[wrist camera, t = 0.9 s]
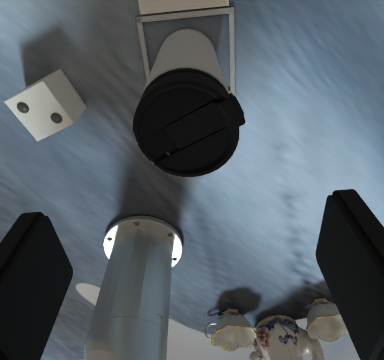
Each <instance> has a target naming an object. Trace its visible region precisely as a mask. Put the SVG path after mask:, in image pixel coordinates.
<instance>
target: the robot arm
mask: <svg viewBox="0 0 384 360" xmlns="http://www.w3.org/2000/svg"><path fill="white" fill-rule="evenodd" d="M103 244H104V251H105V253H106V255H107V257H108V258H109V261H108V264H107V268H106V271H105V275H104V278H103V282H102V285H101V289H100V292H99V296H98V299H97V303H96V306H95V310H94V313H93V317H92V320H91V324H90V327H89V331H88V334H87V338H86V341H85V346H84V360H166V352H167V336H168V319H169V303H170V287H171V271H172V267H173V266H174V265H175V264H176V263H177V262H178V261H179V259H180V257H181V255H182V248H183V245H182V239H181V237H180V235H179V233H178V232H177V230H176V229H175V228H174V227H172V226H171V225H170V224H168V223H167V222H165V221H163V220H161V219H158V218H154V217H151V216H131V217H126V218H124V219H121V220H119V221H117V222H116V223H114V224H113V225H112V226H111V227H110V228H109V229H108V231H107V233H106V235H105V238H104V243H103ZM316 259H317V263H318V265H319V267H320V270H321V272H322V274H323V276H324V279H325V281H326V283H327V285H328V288H329V290H330V292H331V294H332V297H333V299H334V301H335V304H336V306H337V308H338V310H339V313H340V315H341V317H342V319H343V322H344V324H345V326H346V328H347V331H348V333H349V335H350V337H351V340H352V342H353V344H354V346H355V349H356V351H357V353H358V356H359V358H360V359H361V360H384V227H383V226H382V224H381V223H380V222H379V220H378V219H377V218H376V217H375V215H374V214H373V213H372V211H371V210H370V209H369V207H368V206H367V205H366V204H365V202H364V201H363V200H362V198H361V197H360V196H359V194H358V193H357V192H356V191H355V190H353V189H348V190H336V191H334V192H333V194H332V195H329V196H328V197H327V200H326V205H325V210H324V215H323V220H322V225H321V230H320V234H319V239H318V244H317V249H316ZM72 276H73V269H72V266H71V264H70V262H69V260H68V257H67V255H66V253H65V251H64V249H63V247H62V245H61V242H60V240H59V238H58V236H57V234H56V232H55V230H54V227H53V225H52V223H51V221H50V219H49V217H48V216H44V214H43V213H42V212H31V213H23V214H21V215H20V216H19V217H18V219H17V220H16V222H15V223H14V224H13V226H12V227H11V229H10V230H9V231H8V233H7V234H6V236H5V237H4V239H3V240H2V241H1V243H0V360H40V359H41V356H42V354H43V351H44V348H45V346H46V343H47V341H48V338H49V336H50V333H51V331H52V328H53V325H54V323H55V320H56V318H57V315H58V313H59V310H60V307H61V305H62V302H63V300H64V297H65V295H66V292H67V290H68V287H69V284H70V282H71V279H72Z"/></svg>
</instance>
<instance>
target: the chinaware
mask: <svg viewBox="0 0 384 360" xmlns="http://www.w3.org/2000/svg"><path fill="white" fill-rule="evenodd" d="M311 305H312V307H311V309H310V310H309V312H308V316H307V327H306V329H307V331H306V330H304V329H302V328H300V327H298V325H297V324H296V321H295V320H294V319H293V318H291V317H289V316H285V315H273V316H269V317H266V318H264V319H262V320H260V321H259V322H258V323H257V325H256V331H255V330H253V329H252V327H251V325H250V323H249V321H248V320H247V319H246V318H245V317H244V316H243V315H241V314H239V312H238V311H237V310H238V309H236V310H235V309H229V308H228V310H226V311H225V312H222V313H223V314H224V315H222V316H221V317H220V318H217V323H210V324H208V325H207V326H206V328H205V335H206V337H207V338H208V339H210V340H211V343H212V344H213V345H215V346H219V345H220V347H221V348H223V349H224V350H226V351H234V350H236V349H238V348H239V346H240V347H241V348H248V347H251V346H252V345H253V347H254V348H255V350H256V351H257V352H258V353H259V354H260V355H261V356H262V357H261V356H260V355H259V354H258V353H257V352H255V351H254V352H252V353H251V354H250V357H249V358H250V360H257V359H258V358H260V359H259V360H302V356H303V355H304V354H307V353H308V354H310V355H311V357H312V359H313V360H324V354H323V350H322V348H321V345H320V343H319V341H318V339H319V338H320V339H322V340H324V341H330V342H332V341H334V340H337V339H338V338H339V337H340V336H341V334H342V335H348V334H349V333H348V331H347V328H346V326H345V324H344V322H343V319H342V317H341V315H340V313H339V310H338V308H337V306H336V304H333V303H331V302H330V301H328V300H326V299H325V298H322V299H317V300H316V299H315V301H314V302H313V303H312V304H311ZM210 325H216V326H215V331H214V333H213V335H212V338H209V337H208V336H207V334H206V330H207V328H208V327H209V326H210Z"/></svg>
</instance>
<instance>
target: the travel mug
mask: <svg viewBox="0 0 384 360" xmlns="http://www.w3.org/2000/svg"><path fill="white" fill-rule="evenodd" d="M244 123H245V119H244V112H243V110H242V108H241V106H240V104H239V102H238V100H237V99H236V97H235V96H234V95H233V94H232V93H229V90H228V87H227V84H226V81H225V78H224V75H223V72H222V69H221V67H220V64H219V61H218V58H217V55H216V52H215V49H214V47H213V44H212V42H211V41H210V39H209V38H208V37H207V36H206V35H205V34H203V33H202V32H201V31H198V30H196V29H192V28H182V29H179V30H176V31H174V32H172V33H171V34H170V35H169V36H167V38H166V39H165V40H164V42H163V44H162V46H161V48H160V50H159V53H158V55H157V58H156V60H155V62H154V65H153V67H152V70H151V72H150V75H149V77H148V79H147V82H146V84H145V87H144V89H143V92H142V94H141V97H140V100H139V104H138V106H137V109H136V112H135V115H134V119H133V131H134V134H135V137H136V140H137V142H138V146H139V147H140V149H141V151H142V152H143V154H144V155H145V156H146V157H147V158H148V159H149V160H150V161H152V162H154V163H155V164H154V165H156V166H157V167H159V168H160V169H161V170H163V171H164V172H167V173H169V174H172V175H177V176H182V177H195V176H202V175H205V174H208V173H211V172H213V171H215V170H217V169H219V168H220V167H221V166H223V165H224V164H225V163H226V162H227V161H228V160H229V159H230V158H231V156H232V155H233V153H234V151H235V149H236V147H237V144H238V140H239V126H241V125H243V124H244Z"/></svg>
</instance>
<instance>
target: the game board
mask: <svg viewBox="0 0 384 360" xmlns="http://www.w3.org/2000/svg"><path fill="white" fill-rule="evenodd" d="M138 4H139V10H140V15H142V14H152V13H162V12H171V11H181V10H191V9H201V8H210V7H220V6H229V0H138ZM219 14H229V55H230V90H229V93H232V94H233V95H235V55H234V7H229V8H219V9H209V10H200V11H190V12H180V13H170V14H161V15H151V16H141V17H136V21H137V27H138V33H139V39H140V45H141V51H142V57H143V62H144V68H145V74H146V80H147V79H148V77H149V75H150V68H149V62H148V56H147V49H146V43H145V37H144V31H143V25H142V22H150V21H160V20H170V19H180V18H190V17H200V16H209V15H219Z"/></svg>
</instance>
